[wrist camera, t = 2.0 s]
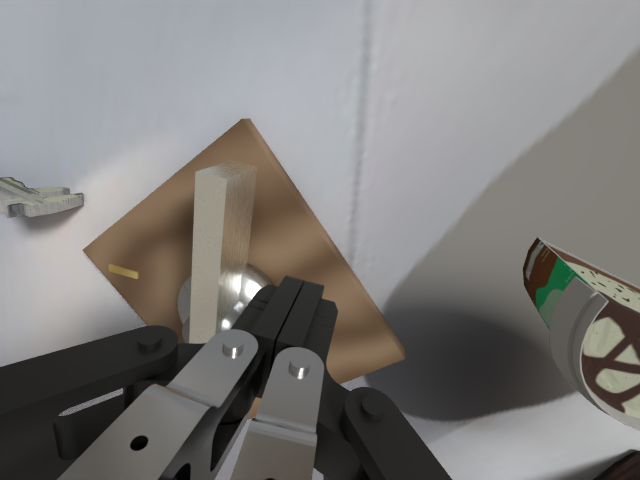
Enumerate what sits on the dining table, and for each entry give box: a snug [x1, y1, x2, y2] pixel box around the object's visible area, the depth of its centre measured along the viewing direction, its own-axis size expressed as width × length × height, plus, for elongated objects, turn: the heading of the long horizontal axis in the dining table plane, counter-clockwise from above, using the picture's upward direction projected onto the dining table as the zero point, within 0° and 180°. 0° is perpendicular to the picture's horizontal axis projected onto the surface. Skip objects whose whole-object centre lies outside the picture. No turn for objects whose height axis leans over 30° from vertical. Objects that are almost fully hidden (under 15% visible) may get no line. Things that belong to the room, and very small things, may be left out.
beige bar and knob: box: [178, 161, 275, 344], centre depth 26 cm, size 18×9×6 cm, turn 169°
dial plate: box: [83, 119, 405, 420], centre depth 31 cm, size 24×21×2 cm
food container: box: [523, 238, 640, 431], centre depth 21 cm, size 12×6×10 cm, turn 65°
